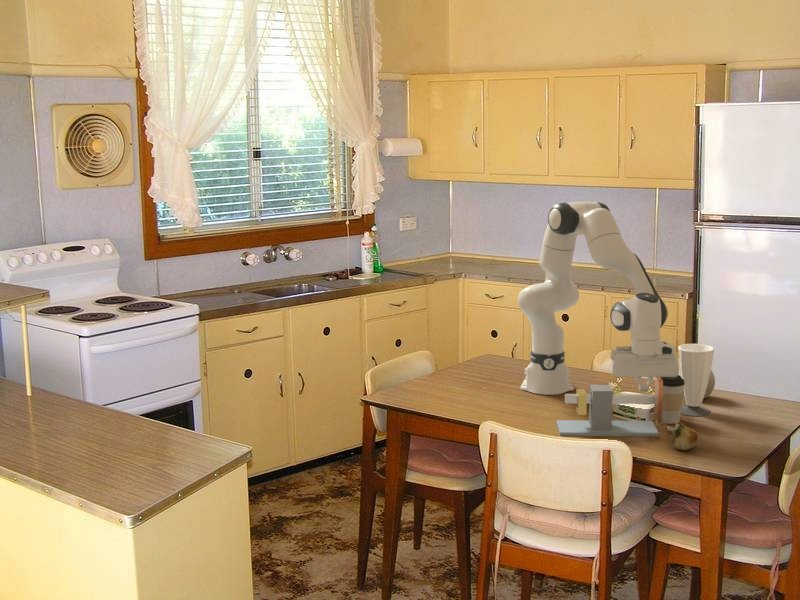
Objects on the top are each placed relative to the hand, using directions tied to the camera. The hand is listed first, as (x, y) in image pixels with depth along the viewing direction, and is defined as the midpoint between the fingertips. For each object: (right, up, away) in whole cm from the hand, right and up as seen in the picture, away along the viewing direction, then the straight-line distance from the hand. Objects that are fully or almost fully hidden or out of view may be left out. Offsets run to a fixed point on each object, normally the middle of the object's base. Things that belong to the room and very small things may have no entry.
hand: (643, 390), depth 302 cm
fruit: (+27, -6, +35) cm, 45 cm away
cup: (+21, -9, +21) cm, 31 cm away
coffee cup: (+11, -11, +12) cm, 19 cm away
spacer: (-19, -7, +3) cm, 20 cm away
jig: (-11, -13, +3) cm, 17 cm away
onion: (+8, -16, -15) cm, 23 cm away
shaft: (-9, -10, +3) cm, 14 cm away
